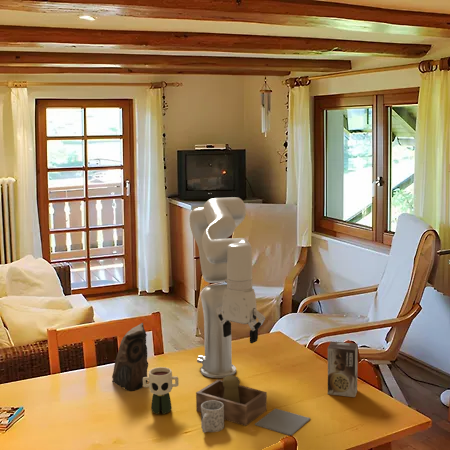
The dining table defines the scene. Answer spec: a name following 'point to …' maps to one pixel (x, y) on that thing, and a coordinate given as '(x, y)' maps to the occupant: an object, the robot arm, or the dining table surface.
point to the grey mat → (282, 421)
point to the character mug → (160, 388)
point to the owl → (131, 360)
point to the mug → (212, 416)
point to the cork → (231, 388)
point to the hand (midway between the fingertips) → (240, 338)
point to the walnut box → (235, 412)
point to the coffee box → (342, 368)
